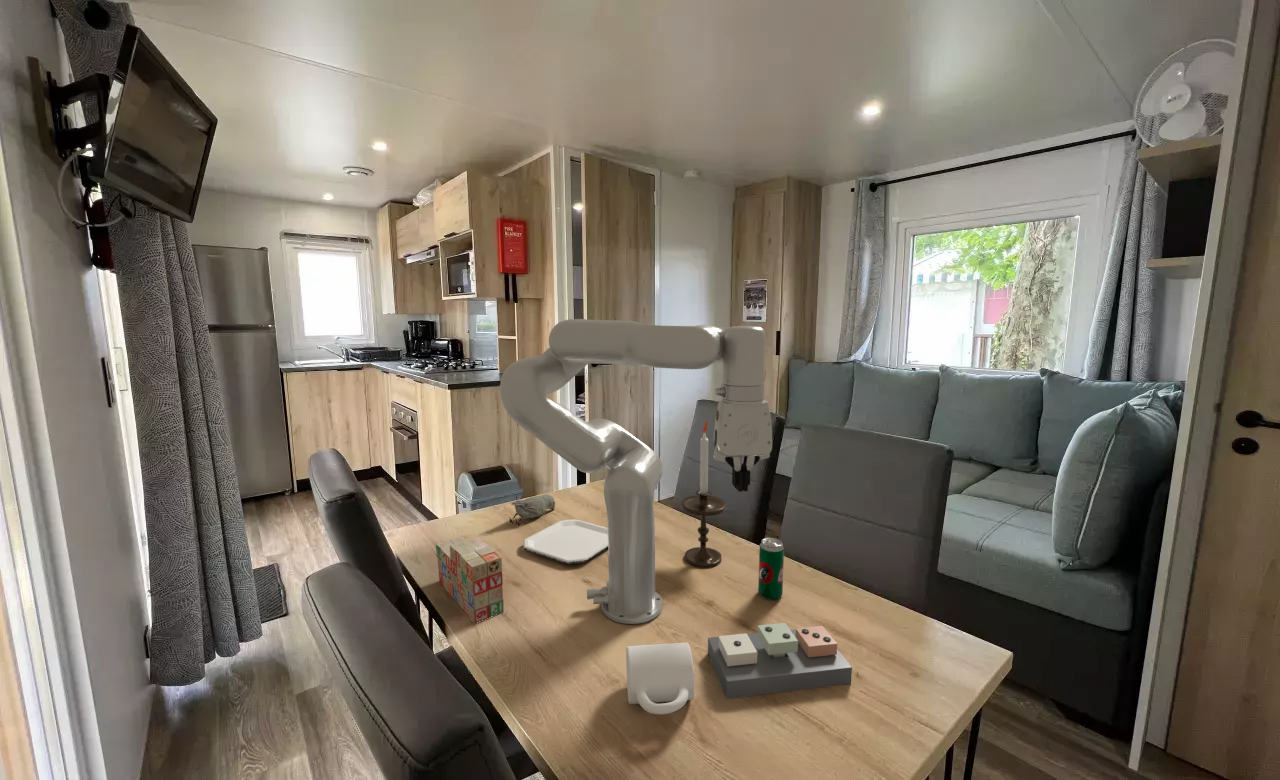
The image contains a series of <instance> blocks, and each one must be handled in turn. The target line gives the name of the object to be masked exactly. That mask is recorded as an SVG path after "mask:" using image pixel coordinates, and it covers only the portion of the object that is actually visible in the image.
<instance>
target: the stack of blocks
mask: <svg viewBox="0 0 1280 780" xmlns="http://www.w3.org/2000/svg"><path fill="white" fill-rule="evenodd" d="M435 550H436V557H437V569H438V579H439V583H441V585H443V588H445V590H446V591H447V592H448V594H449V595H450V596H451V597H452V598H453V599H454V601H455V602H456V603H457V602H458V603H457V604H458V605H459V606H460V607H461V608H462V610H463V609H464V610H463V611H464V613H465V612H466V613H467V614H466V613H465V614H466V615H467V616H468V618H469V617H470V618H471V619H470V618H469V619H470V621H472V622H474V623H476V624H478V623H477V622H479V621H481V622H483V621H482V620H484V621H486V620H488V619H487V618H489V617H491V616H493V617H495V616H494V615H496V614H498V613H501V612H503V613H504V612H505V611H504V609H505V608H504V593H503V591H504V589H503V584H504V583H503V579H504V578H503V559H502V558H503V557H501V556H500V555H499V554H498V553H496V551H495V550H494V549H493V548H492V547H491V546H489V545H488V544H487V543H485V542H484V541H483V540H481V539H480V538H478V537H477V536H476V537H471V538H469V539H466V538H465V537H463V536H459V537H454V538H452V539H448V540H446V541H442V542H438V543H436V544H435ZM501 614H502V613H501ZM498 615H499V614H498ZM496 616H497V615H496ZM491 618H492V617H491ZM485 619H486V620H485ZM489 619H490V618H489ZM474 623H473V624H474ZM479 623H480V622H479Z"/></svg>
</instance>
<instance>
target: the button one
mask: <svg viewBox="0 0 1280 780" xmlns="http://www.w3.org/2000/svg"><path fill="white" fill-rule="evenodd" d="M747 634H748V632H747V633H736V634H726V635H718V637H719V649H720V651H721V653H722V655H723V658H724V660H725V662H726V664H727V666H736V665H745V664H754V663H757V651H756V649H755V647H754V645H753V644H752V642H751V640H750V638H749V637H748V635H747Z"/></svg>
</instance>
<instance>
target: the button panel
mask: <svg viewBox="0 0 1280 780" xmlns="http://www.w3.org/2000/svg"><path fill="white" fill-rule="evenodd" d="M790 630H791V632H792V633H793V634H794V636H796V628H794V629H791V628H790ZM747 635H748V637H749V638H750V640H751V642H752V644H753V645H754V647H755V649H756V651H757V663H754V664H745V665H736V666H727V664H726V662H725V660H724V658H723V655H722V653H721V651H720V649H719V636H713V637H708V638H707V654H708V657H709V659H710V661H711V665H712V666H713V667H712V668H714V669H713V670H714V672H715V673H716V676H717V678H718V681H719V683H720V686H721V688H722V690H723V693H724V695H725V697H726V699H736V698H744V697H752V696H761V695H771V694H778V693H786V692H794V691H795V692H796V691H803V690H811V689H820V688H829V687H838V686H845V685H851V684H852V675H853V667H852V666H851V664H850V663H849V662H848V660H847V659H846V658H845V657H844V656H843V654H842V653H841V652H840V651H839V650H838V648H837V655H827V656H818V657H808V656H807V654H806V653H805V652H804V650H803V649H802V647H801V646H800V645H799V643H798V652H792V653H785V657H782V658H773V659H772V658H771V656H770V655H769V654H768V653H767V651H766V649H765V648H764V646H763V644H762V643H761V641H760V639H759V638H758V632H753V633H747Z"/></svg>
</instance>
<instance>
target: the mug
mask: <svg viewBox="0 0 1280 780" xmlns="http://www.w3.org/2000/svg"><path fill="white" fill-rule="evenodd" d="M625 649H626V652H625V653H626V654H625V655H626V657H625V659H626V660H625V661H626V662H625V663H626V664H625V665H626V666H625V667H626V686H627V699H628V704H629V705H636V704H639V706H640V707H641V708H642V709H643V710H644V711H646V712H647V713H649V714H653V715H668V714H671V713H674V712H676V711H679V710H681V708H683V707H684V706H685V704H687V701H692V700H693V699H694V698H695V691H696V690H695V689H696V687H695V686H696V685H695V684H696V683H695V670H694V669H695V668H694V660H693V654H692V649H691V647H690V644H689V642H676V643H675V642H674V643H673V642H672V643H658V644H642V645H627V646H626V648H625ZM664 702H665V703H664Z"/></svg>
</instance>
